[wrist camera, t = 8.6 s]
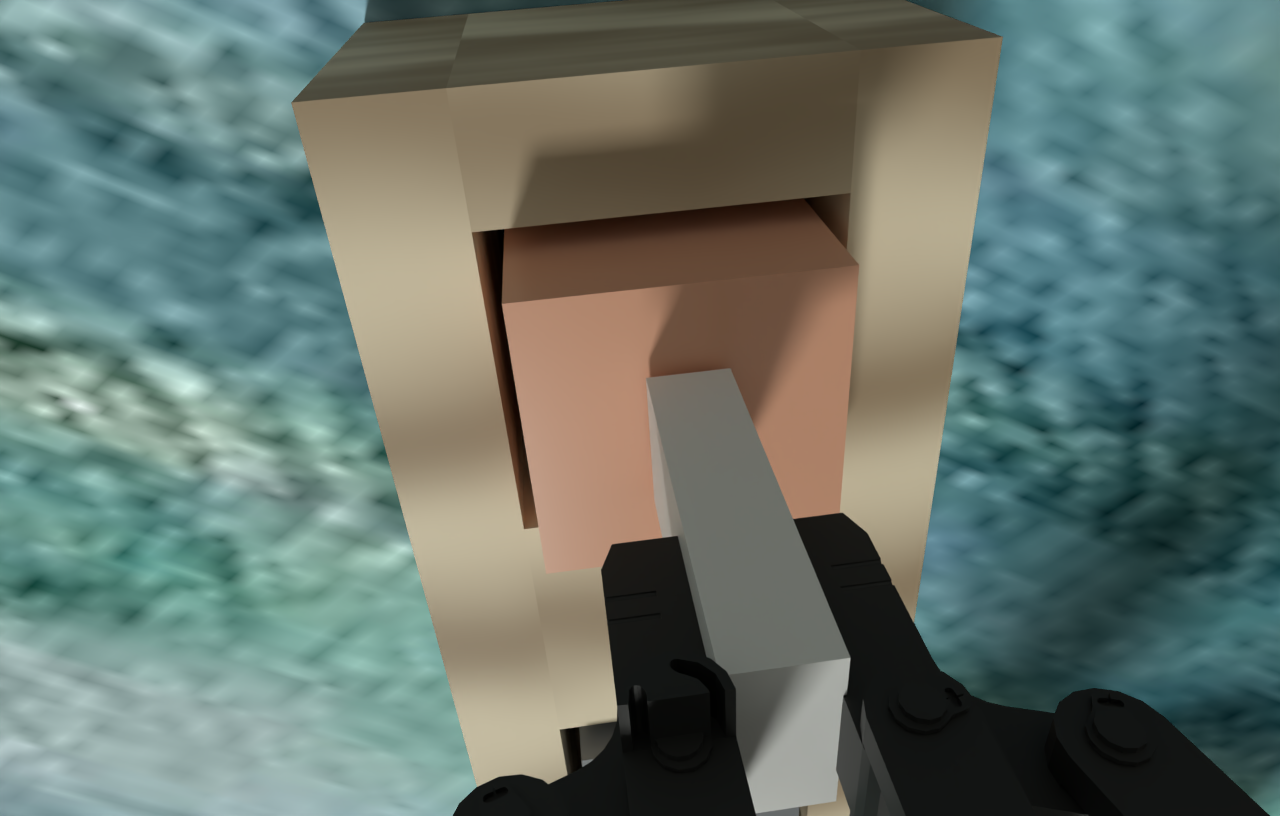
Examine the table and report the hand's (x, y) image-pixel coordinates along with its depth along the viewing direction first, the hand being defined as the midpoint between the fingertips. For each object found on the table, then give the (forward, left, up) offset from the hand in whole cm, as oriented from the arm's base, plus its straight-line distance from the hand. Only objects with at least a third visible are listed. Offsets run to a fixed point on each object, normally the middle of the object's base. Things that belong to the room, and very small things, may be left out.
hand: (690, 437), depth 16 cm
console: (-5, -5, -10) cm, 13 cm away
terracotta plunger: (0, 0, -8) cm, 8 cm away
